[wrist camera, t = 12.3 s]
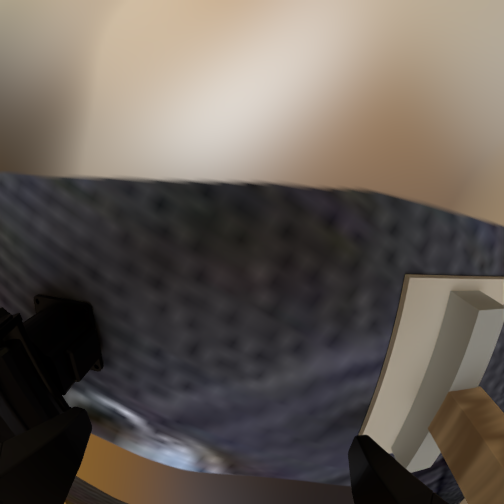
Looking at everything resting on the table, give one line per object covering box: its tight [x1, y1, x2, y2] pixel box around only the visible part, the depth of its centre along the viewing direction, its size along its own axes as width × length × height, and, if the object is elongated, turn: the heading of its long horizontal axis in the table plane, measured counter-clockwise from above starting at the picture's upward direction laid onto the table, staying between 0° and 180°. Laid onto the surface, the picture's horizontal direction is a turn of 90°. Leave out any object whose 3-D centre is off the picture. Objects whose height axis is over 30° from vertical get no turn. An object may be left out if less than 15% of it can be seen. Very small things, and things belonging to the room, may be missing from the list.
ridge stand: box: [359, 274, 504, 473], centre depth 20 cm, size 12×20×5 cm, turn 177°
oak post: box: [428, 387, 504, 504], centre depth 11 cm, size 4×4×13 cm
